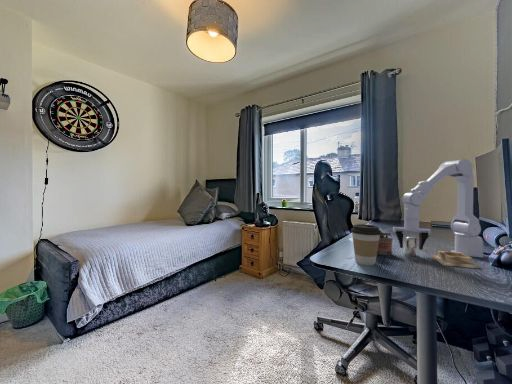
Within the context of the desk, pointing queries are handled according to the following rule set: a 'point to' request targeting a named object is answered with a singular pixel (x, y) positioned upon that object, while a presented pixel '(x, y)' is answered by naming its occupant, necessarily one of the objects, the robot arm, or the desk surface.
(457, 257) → the dock socket
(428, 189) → the robot arm
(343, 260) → the desk surface
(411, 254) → the spigot peg
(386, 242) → the hip flask
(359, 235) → the coffee cup
